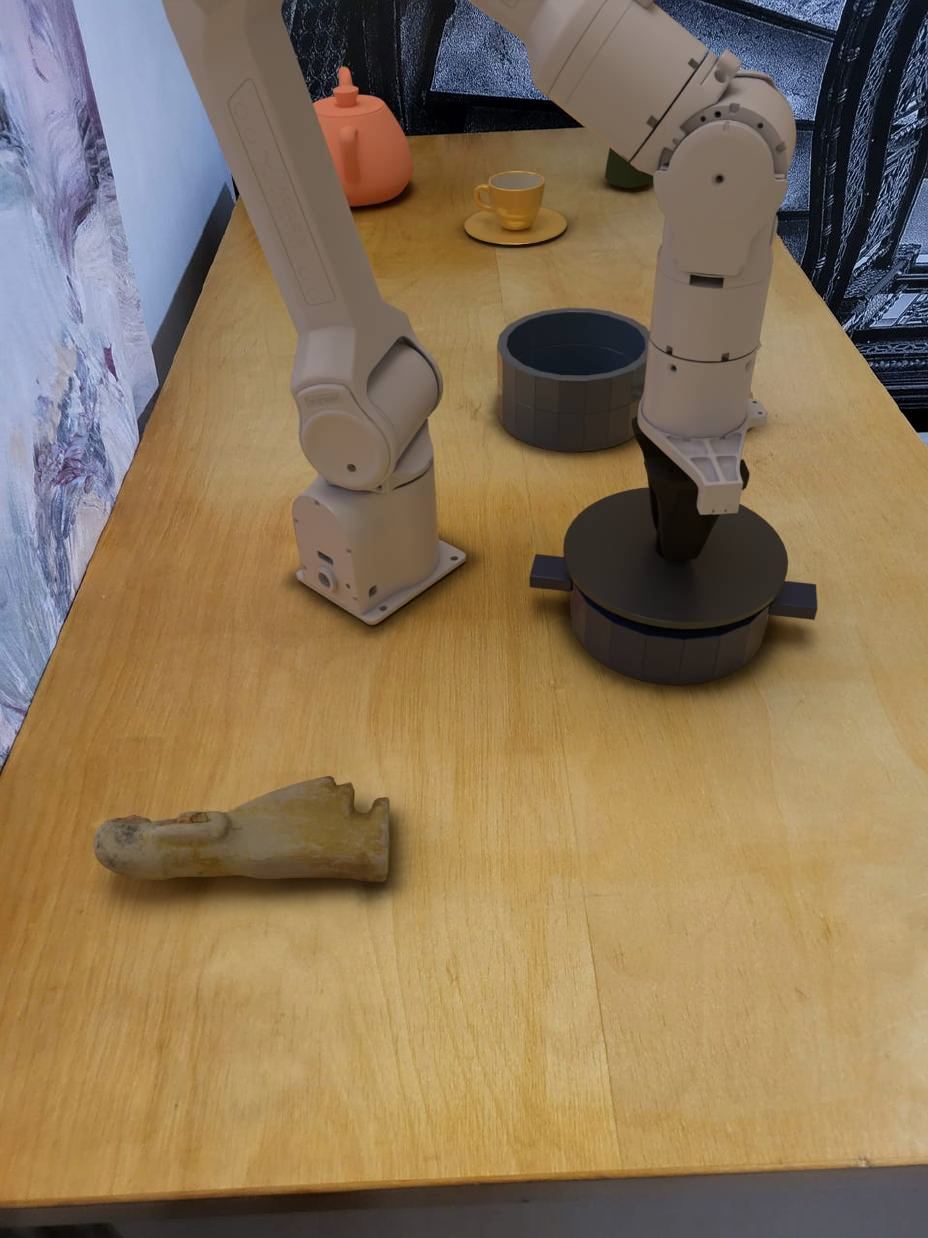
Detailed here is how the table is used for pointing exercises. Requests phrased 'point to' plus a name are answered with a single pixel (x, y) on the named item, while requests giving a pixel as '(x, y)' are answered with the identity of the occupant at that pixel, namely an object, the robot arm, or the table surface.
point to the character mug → (624, 172)
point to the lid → (673, 565)
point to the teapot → (364, 144)
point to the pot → (571, 378)
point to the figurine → (257, 838)
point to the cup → (514, 211)
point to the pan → (668, 632)
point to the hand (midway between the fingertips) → (675, 541)
